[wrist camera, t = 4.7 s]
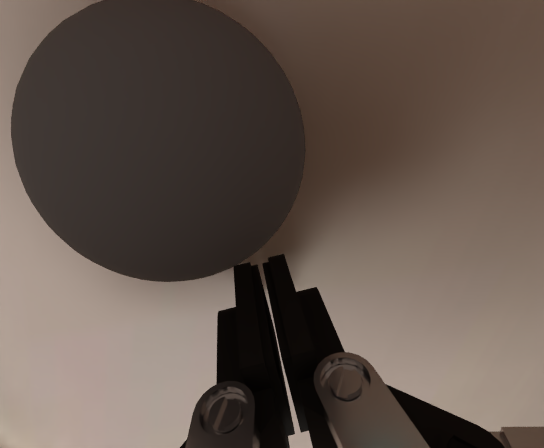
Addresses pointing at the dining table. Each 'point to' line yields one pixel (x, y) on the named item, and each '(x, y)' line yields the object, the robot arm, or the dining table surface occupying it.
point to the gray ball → (158, 138)
